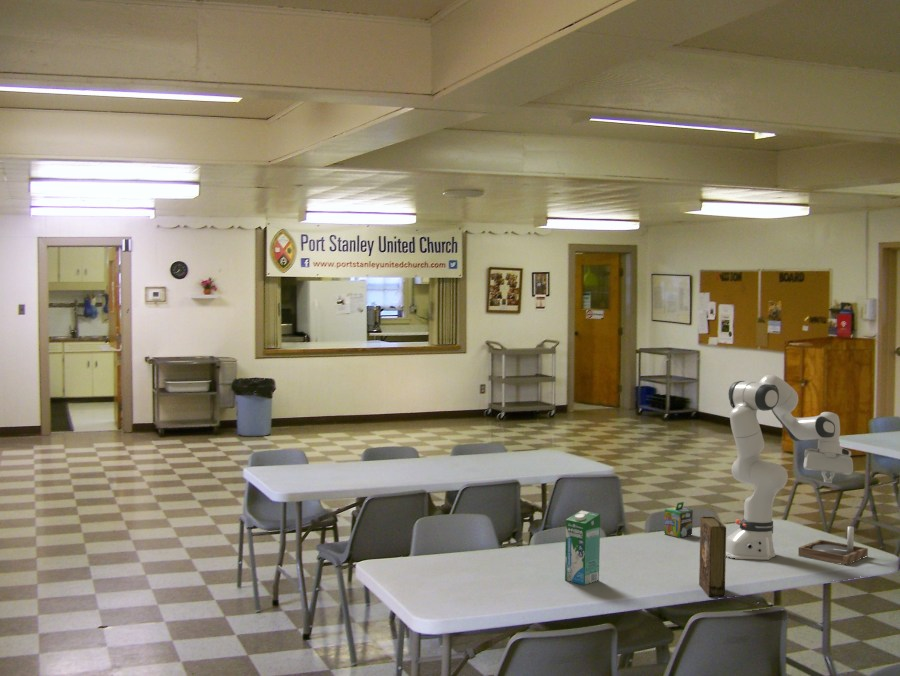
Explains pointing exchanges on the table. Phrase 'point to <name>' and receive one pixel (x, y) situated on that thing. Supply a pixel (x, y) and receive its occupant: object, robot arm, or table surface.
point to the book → (712, 556)
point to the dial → (839, 549)
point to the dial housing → (832, 557)
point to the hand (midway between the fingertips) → (827, 482)
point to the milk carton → (582, 547)
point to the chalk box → (678, 521)
